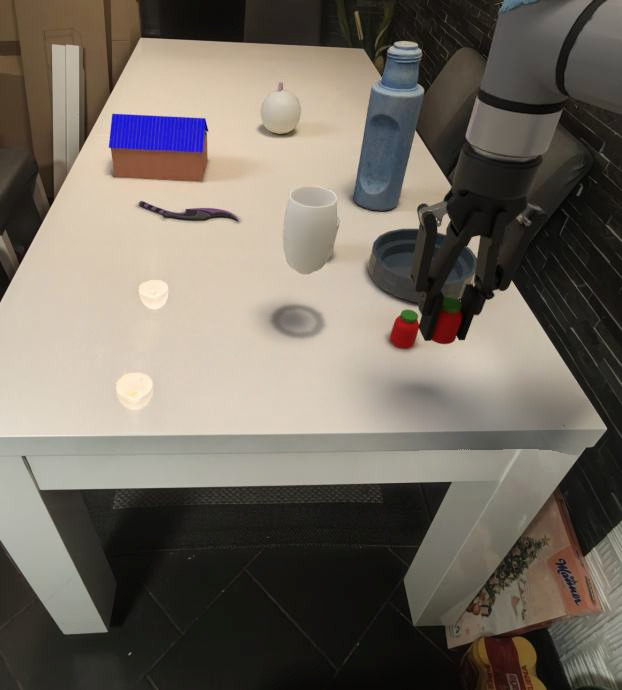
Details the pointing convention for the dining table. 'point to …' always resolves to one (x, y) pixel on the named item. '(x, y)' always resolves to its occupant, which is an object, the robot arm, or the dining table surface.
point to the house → (158, 147)
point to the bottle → (389, 129)
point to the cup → (309, 228)
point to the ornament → (280, 111)
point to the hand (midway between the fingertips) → (441, 333)
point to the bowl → (396, 260)
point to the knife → (191, 212)
